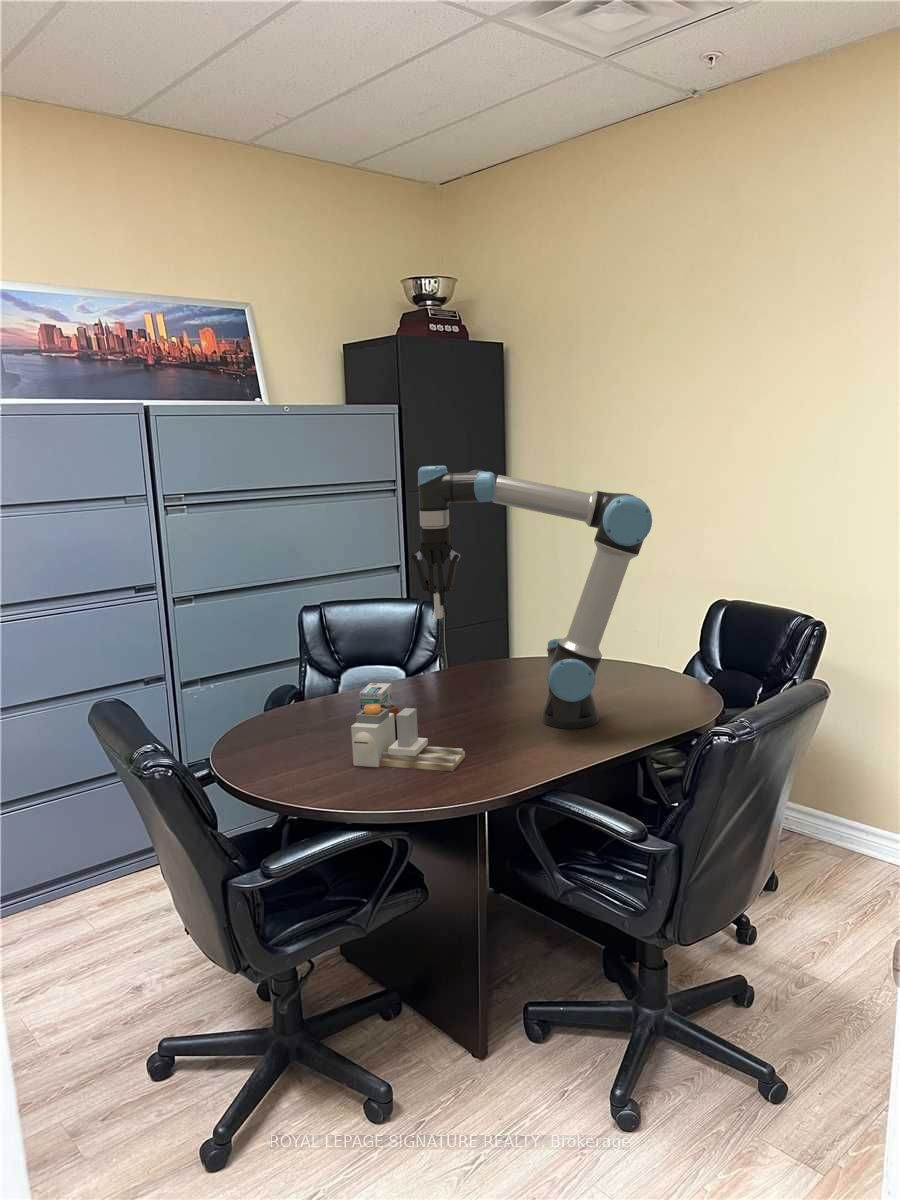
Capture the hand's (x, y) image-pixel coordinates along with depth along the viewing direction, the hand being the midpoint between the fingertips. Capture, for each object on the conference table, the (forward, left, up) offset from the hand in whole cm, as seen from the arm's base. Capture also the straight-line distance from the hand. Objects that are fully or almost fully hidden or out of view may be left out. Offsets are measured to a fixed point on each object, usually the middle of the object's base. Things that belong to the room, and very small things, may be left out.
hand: (439, 617), depth 237 cm
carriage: (+3, +19, -29) cm, 35 cm away
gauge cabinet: (+12, +19, -32) cm, 39 cm away
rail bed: (-1, +19, -32) cm, 37 cm away
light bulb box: (+22, -7, -33) cm, 40 cm away
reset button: (+12, +19, -22) cm, 31 cm away
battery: (+15, +4, -33) cm, 36 cm away
